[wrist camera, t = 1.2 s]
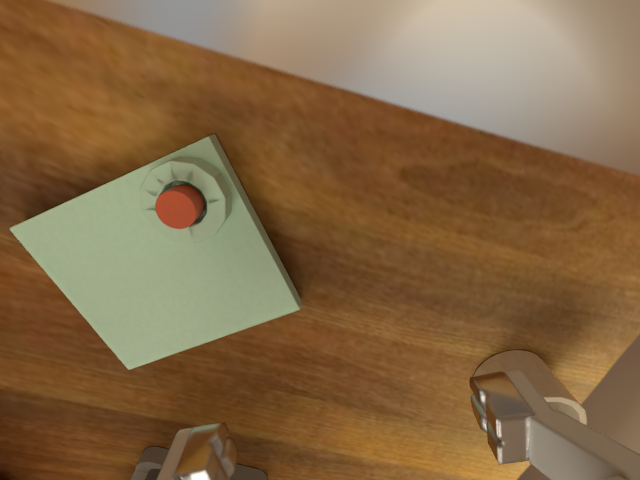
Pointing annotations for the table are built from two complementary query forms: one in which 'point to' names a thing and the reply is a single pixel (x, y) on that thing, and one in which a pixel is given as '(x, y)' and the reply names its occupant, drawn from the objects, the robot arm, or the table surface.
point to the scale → (163, 258)
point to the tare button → (179, 206)
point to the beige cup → (536, 380)
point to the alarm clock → (155, 456)
